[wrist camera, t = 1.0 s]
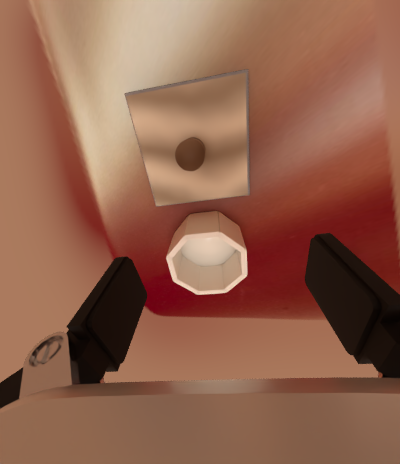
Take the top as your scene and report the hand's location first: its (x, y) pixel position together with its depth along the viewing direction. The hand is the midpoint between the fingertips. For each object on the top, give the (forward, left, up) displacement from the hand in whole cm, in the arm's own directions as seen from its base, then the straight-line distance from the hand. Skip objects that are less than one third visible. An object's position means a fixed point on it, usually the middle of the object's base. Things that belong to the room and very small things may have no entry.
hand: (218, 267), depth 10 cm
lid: (-4, -2, -20) cm, 21 cm away
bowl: (+11, -2, -21) cm, 24 cm away
